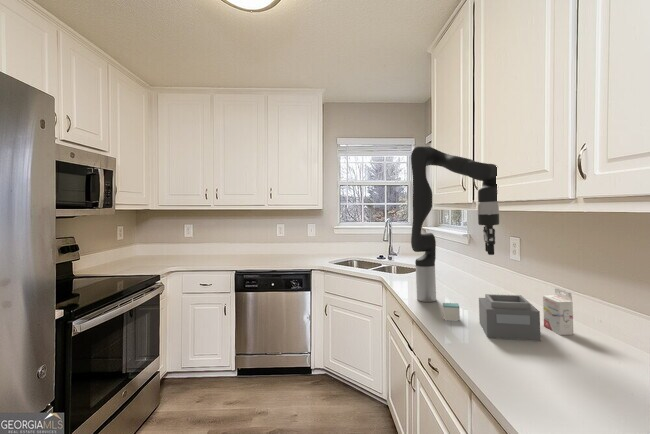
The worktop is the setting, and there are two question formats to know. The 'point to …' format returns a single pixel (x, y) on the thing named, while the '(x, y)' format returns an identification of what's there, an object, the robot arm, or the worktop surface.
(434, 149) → the robot arm
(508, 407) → the worktop surface
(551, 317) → the ink cartridge box
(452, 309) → the block
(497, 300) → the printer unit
